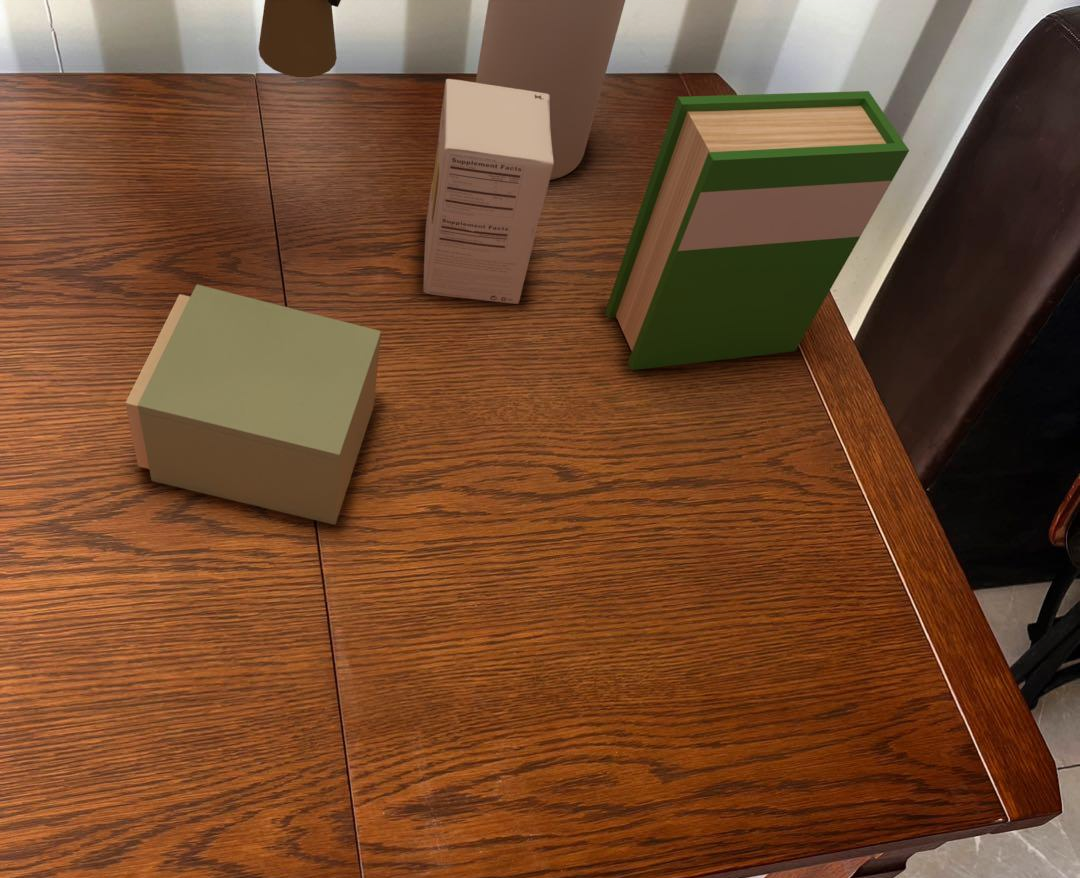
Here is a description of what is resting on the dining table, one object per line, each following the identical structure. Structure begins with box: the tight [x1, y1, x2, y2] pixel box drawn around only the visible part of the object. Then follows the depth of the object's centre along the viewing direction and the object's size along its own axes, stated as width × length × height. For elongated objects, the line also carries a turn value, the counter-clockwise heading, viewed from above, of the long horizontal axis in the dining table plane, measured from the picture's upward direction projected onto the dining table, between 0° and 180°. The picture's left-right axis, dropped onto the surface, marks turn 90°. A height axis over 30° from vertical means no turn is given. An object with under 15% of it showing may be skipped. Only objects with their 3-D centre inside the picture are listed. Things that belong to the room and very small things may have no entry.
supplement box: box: [423, 78, 554, 305], centre depth 97 cm, size 10×9×17 cm
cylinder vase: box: [475, 0, 626, 181], centre depth 105 cm, size 12×12×25 cm
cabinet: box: [138, 283, 382, 525], centre depth 85 cm, size 15×13×10 cm
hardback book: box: [605, 90, 910, 371], centre depth 95 cm, size 18×7×24 cm, turn 108°
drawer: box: [125, 293, 191, 470], centre depth 85 cm, size 15×11×8 cm
